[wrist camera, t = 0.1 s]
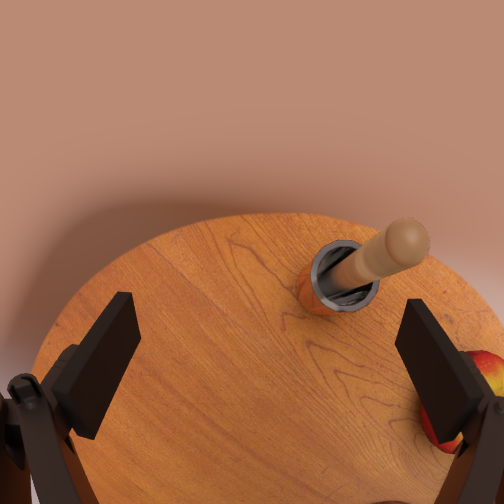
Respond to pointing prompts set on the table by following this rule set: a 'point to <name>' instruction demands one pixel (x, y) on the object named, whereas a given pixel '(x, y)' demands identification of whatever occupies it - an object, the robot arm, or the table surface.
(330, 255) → the holder
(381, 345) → the table surface
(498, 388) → the fruit
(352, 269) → the stick
